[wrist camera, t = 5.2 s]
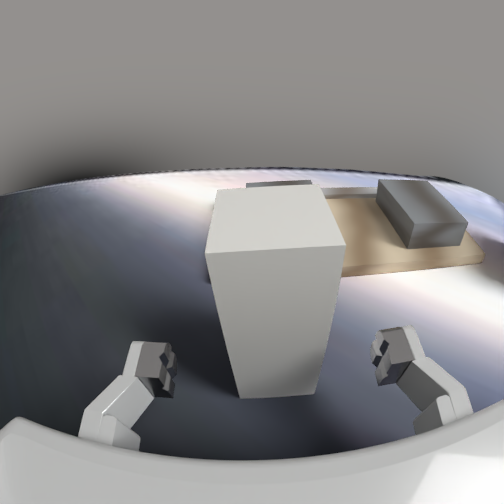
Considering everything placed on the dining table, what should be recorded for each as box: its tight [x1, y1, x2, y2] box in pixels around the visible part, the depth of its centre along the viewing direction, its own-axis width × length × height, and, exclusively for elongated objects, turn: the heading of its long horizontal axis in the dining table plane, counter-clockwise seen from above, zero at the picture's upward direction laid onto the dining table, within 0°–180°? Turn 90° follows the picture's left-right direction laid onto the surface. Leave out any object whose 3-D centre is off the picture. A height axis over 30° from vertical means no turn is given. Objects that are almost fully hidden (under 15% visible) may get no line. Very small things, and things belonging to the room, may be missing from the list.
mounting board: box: [246, 179, 485, 277], centre depth 25 cm, size 24×12×4 cm, turn 90°
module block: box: [205, 184, 346, 398], centre depth 13 cm, size 4×4×10 cm
